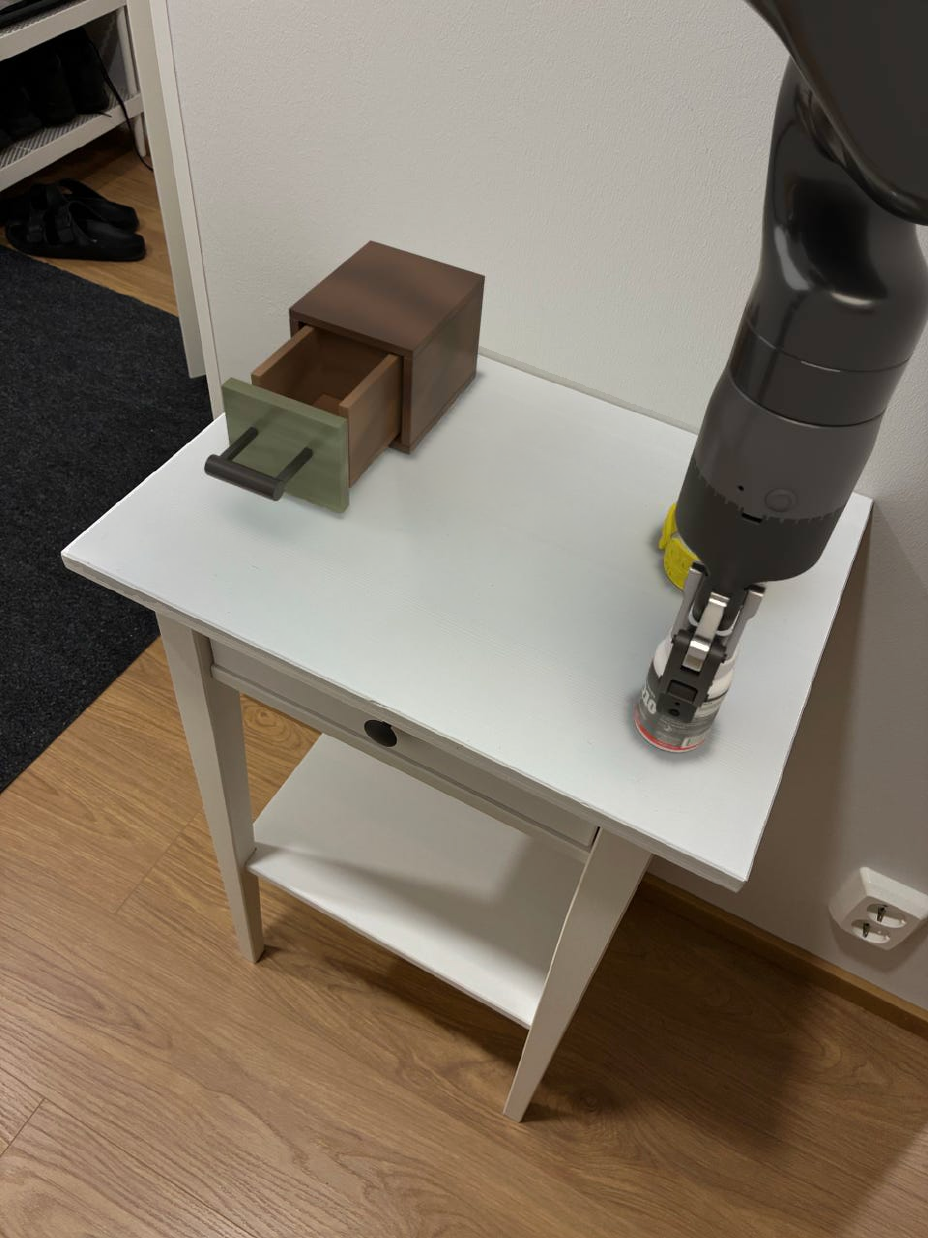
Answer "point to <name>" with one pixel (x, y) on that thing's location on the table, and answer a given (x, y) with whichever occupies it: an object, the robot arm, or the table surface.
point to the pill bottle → (668, 730)
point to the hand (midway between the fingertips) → (686, 681)
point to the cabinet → (405, 325)
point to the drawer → (311, 418)
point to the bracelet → (675, 552)
